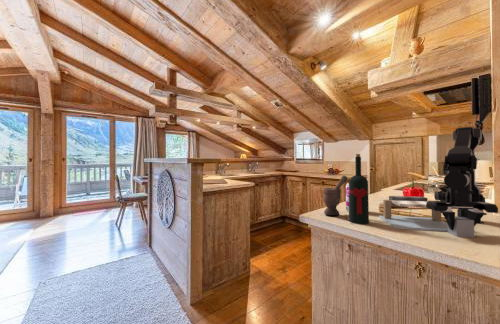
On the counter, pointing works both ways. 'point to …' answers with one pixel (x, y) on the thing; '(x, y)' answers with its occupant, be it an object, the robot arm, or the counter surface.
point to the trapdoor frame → (413, 220)
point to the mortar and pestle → (333, 197)
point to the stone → (462, 227)
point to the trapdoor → (408, 201)
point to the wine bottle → (358, 196)
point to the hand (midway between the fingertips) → (460, 230)
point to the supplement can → (347, 197)
